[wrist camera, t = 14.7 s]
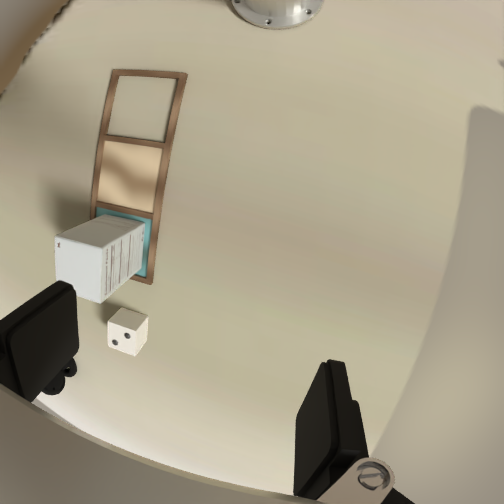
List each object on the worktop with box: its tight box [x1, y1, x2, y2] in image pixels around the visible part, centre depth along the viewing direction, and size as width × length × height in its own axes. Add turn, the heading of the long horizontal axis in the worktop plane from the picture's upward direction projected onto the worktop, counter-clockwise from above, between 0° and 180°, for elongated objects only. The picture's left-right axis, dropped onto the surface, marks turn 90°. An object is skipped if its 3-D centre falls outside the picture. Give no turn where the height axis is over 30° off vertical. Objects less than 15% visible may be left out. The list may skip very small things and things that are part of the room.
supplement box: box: [55, 214, 145, 304], centre depth 40 cm, size 7×7×13 cm
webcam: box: [42, 358, 77, 395], centre depth 51 cm, size 8×8×10 cm
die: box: [108, 307, 148, 356], centre depth 48 cm, size 5×5×5 cm
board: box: [90, 69, 188, 285], centre depth 42 cm, size 31×12×1 cm, turn 168°
